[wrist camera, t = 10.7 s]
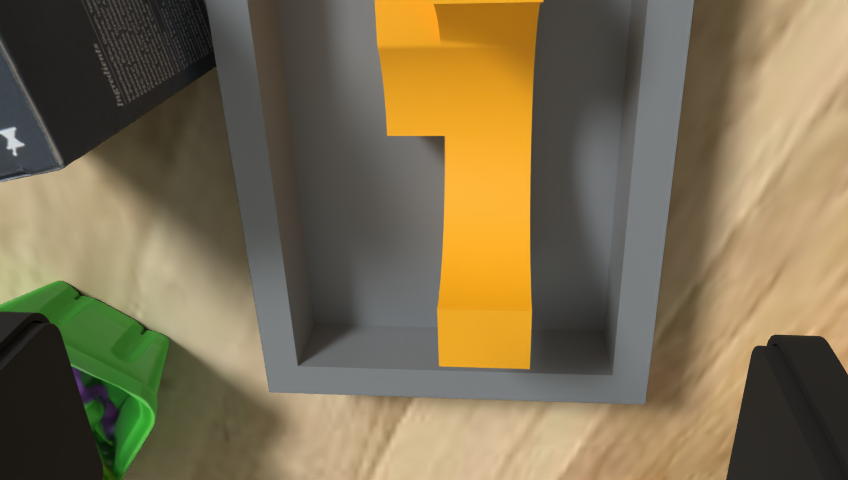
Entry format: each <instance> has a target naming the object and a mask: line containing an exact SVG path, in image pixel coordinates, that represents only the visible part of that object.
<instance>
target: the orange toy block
mask: <svg viewBox="0 0 848 480" xmlns="http://www.w3.org/2000/svg"><path fill="white" fill-rule="evenodd" d="M541 2H544V0H375V15H376V32H377V46H378V51H379V57H380V63H381V70H382V77H383V86H384V96H385V108H386V123H387V136H445V198H444V230H443V251H442V267H441V280H440V290H439V299H438V307H437V318H438V351H439V366H442V367H476V368H509V369H530V351H531V324H532V302H531V271H530V174H531V130H532V101H533V79H534V60H535V45H536V33H537V22H538V14H539V7H540V3H541Z"/></svg>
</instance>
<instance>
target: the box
mask: <svg viewBox="0 0 848 480" xmlns="http://www.w3.org/2000/svg"><path fill="white" fill-rule="evenodd" d="M214 67H216V60H215V54H214V48H213V42H212V36H211V30H210V23H209V17H208V11H207V5H206V2H205V0H0V182H4V181H8V180H13V179H18V178H22V177H28V176H32V175H37V174H43V173H48V172H53V171H58V170H61V169H63V168H65V167H66V166H67V165H69V164H70V163H72V162H73V161H74V160H76V159H78V158H80V157H82V156H83V155H85V154H86V153H87V152H89V151H90V150H92V149H93V148H95V147H97V146H98V145H99V144H101V143H102V142H104V141H105V140H107V139H108V138H110V137H111V136H112V135H114V134H116V133H118V132H119V131H120V130H121V129H123V128H125V127H126V126H128V125H129V124H131V123H133V122H134V121H136V120H137V119H138V118H140V117H141V116H142V115H144V114H146V113H147V112H149V111H150V110H152V109H153V108H154V107H156V106H157V105H159V104H161V103H162V102H164V101H165V100H166V99H168V98H169V97H171V96H172V95H174V94H175V93H176V92H178V91H180V90H181V89H183V88H184V87H186V86H188V85H189V84H190V83H192V82H193V81H195V80H196V79H198V78H199V77H201V76H202V75H204V74H205V73H207V72H208V71H210V70H212V69H213V68H214Z"/></svg>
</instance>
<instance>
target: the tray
mask: <svg viewBox="0 0 848 480" xmlns="http://www.w3.org/2000/svg"><path fill="white" fill-rule="evenodd" d="M206 5H207V11H208V17H209V23H210V30H211V36H212V42H213V48H214V54H215V60H216V67H217V73H218V79H219V85H220V91H221V97H222V104H223V110H224V116H225V122H226V128H227V134H228V140H229V147H230V153H231V159H232V165H233V171H234V177H235V184H236V190H237V196H238V202H239V208H240V214H241V221H242V227H243V233H244V239H245V245H246V251H247V257H248V264H249V270H250V276H251V282H252V288H253V294H254V301H255V307H256V313H257V319H258V325H259V331H260V338H261V344H262V350H263V356H264V362H265V368H266V374H267V381H268V387H269V392H278V393H309V394H339V395H370V396H400V397H431V398H461V399H492V400H522V401H552V402H583V403H613V404H644V405H645V403H646V394H647V386H648V378H649V369H650V361H651V353H652V345H653V336H654V328H655V320H656V312H657V303H658V295H659V287H660V278H661V270H662V262H663V254H664V245H665V237H666V229H667V221H668V212H669V204H670V196H671V187H672V179H673V171H674V163H675V154H676V146H677V138H678V130H679V121H680V113H681V105H682V97H683V88H684V80H685V72H686V63H687V55H688V47H689V39H690V30H691V22H692V14H693V6H694V0H544V2H541V3H540V7H539V14H538V22H537V33H536V45H535V60H534V79H533V101H532V130H531V174H530V271H531V302H532V324H531V351H530V369H509V368H476V367H442V366H439V351H438V318H437V307H438V299H439V290H440V280H441V267H442V251H443V230H444V198H445V136H387V123H386V108H385V96H384V86H383V77H382V70H381V63H380V57H379V51H378V46H377V32H376V15H375V0H206Z"/></svg>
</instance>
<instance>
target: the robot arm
mask: <svg viewBox="0 0 848 480" xmlns="http://www.w3.org/2000/svg"><path fill="white" fill-rule="evenodd" d="M0 480H103V464H102V461H101V458H100V455H99V452H98V448H97V445H96V442H95V439H94V436H93V433H92V430H91V426H90V423H89V420H88V417H87V414H86V411H85V407H84V404H83V401H82V398H81V395H80V392H79V389H78V385H77V382H76V379H75V376H74V373H73V370H72V366H71V363H70V360H69V357H68V354H67V351H66V348H65V344H64V341H63V338H62V335H61V332H60V330H59V328H58V327H57V326H56V325H55V324H52V323H50V322H49V319H48V318H47V317H46V316H45V315H44V314H41V313H33V312H0ZM726 480H848V374H847V373H846V371H845V369H844V368H843V366H842V364H841V363H840V361H839V360H838V358H837V356H836V355H835V353H834V352H833V350H832V348H831V347H830V345H829V344H828V342H827V341H826V340H825V339H824V338H823V337H820V336H799V335H773V336H771V337H770V339H769V341H768V343H767V346H756V347H755V348H754V349H753V351H752V355H751V359H750V364H749V369H748V374H747V379H746V384H745V389H744V394H743V399H742V404H741V409H740V414H739V419H738V424H737V429H736V434H735V439H734V444H733V449H732V454H731V459H730V464H729V469H728V474H727V479H726Z"/></svg>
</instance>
